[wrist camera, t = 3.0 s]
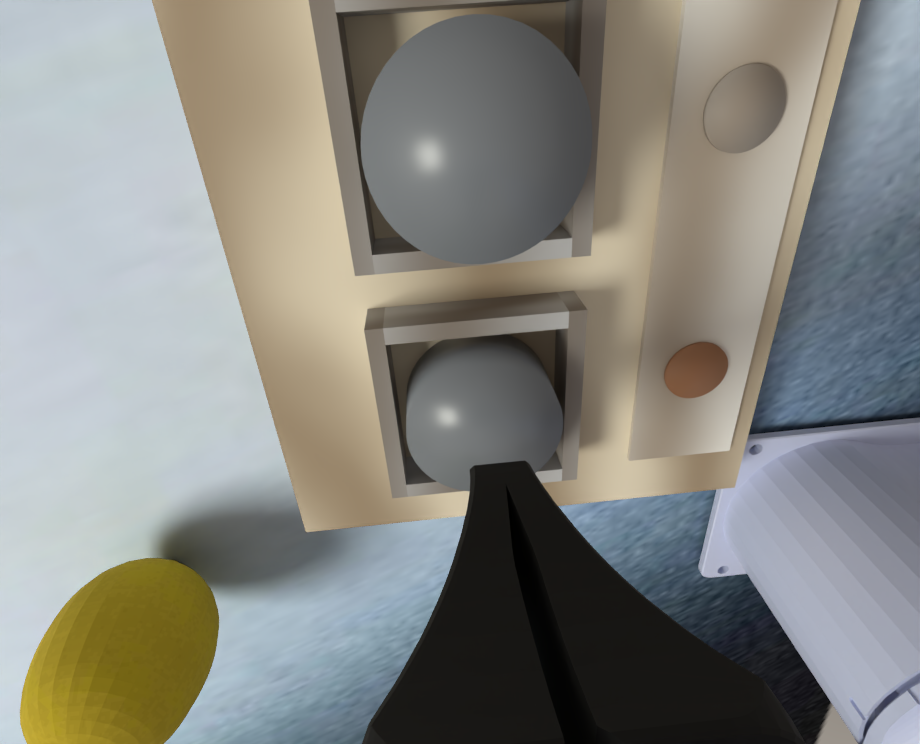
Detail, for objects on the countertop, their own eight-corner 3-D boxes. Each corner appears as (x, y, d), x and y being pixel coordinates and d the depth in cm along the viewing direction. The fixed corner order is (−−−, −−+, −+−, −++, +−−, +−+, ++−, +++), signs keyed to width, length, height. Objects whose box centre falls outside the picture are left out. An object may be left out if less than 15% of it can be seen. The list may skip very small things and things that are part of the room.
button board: (980, -789, 9) (1262, -1206, 6) (709, 453, 22) (755, 514, 19) (-22, -775, 8) (-260, -1231, 5) (314, 494, 21) (299, 563, 18)
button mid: (570, 13, 11) (599, 5, 9) (562, 229, 13) (586, 255, 11) (352, 28, 11) (341, 22, 9) (382, 244, 13) (378, 273, 11)
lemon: (228, 512, 22) (144, 726, 15) (251, 602, 24) (188, 818, 17) (82, 517, 21) (-76, 740, 14) (122, 609, 24) (5, 833, 17)
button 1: (548, 323, 16) (566, 355, 14) (546, 443, 18) (560, 483, 16) (398, 337, 16) (396, 372, 14) (414, 456, 18) (415, 499, 16)
